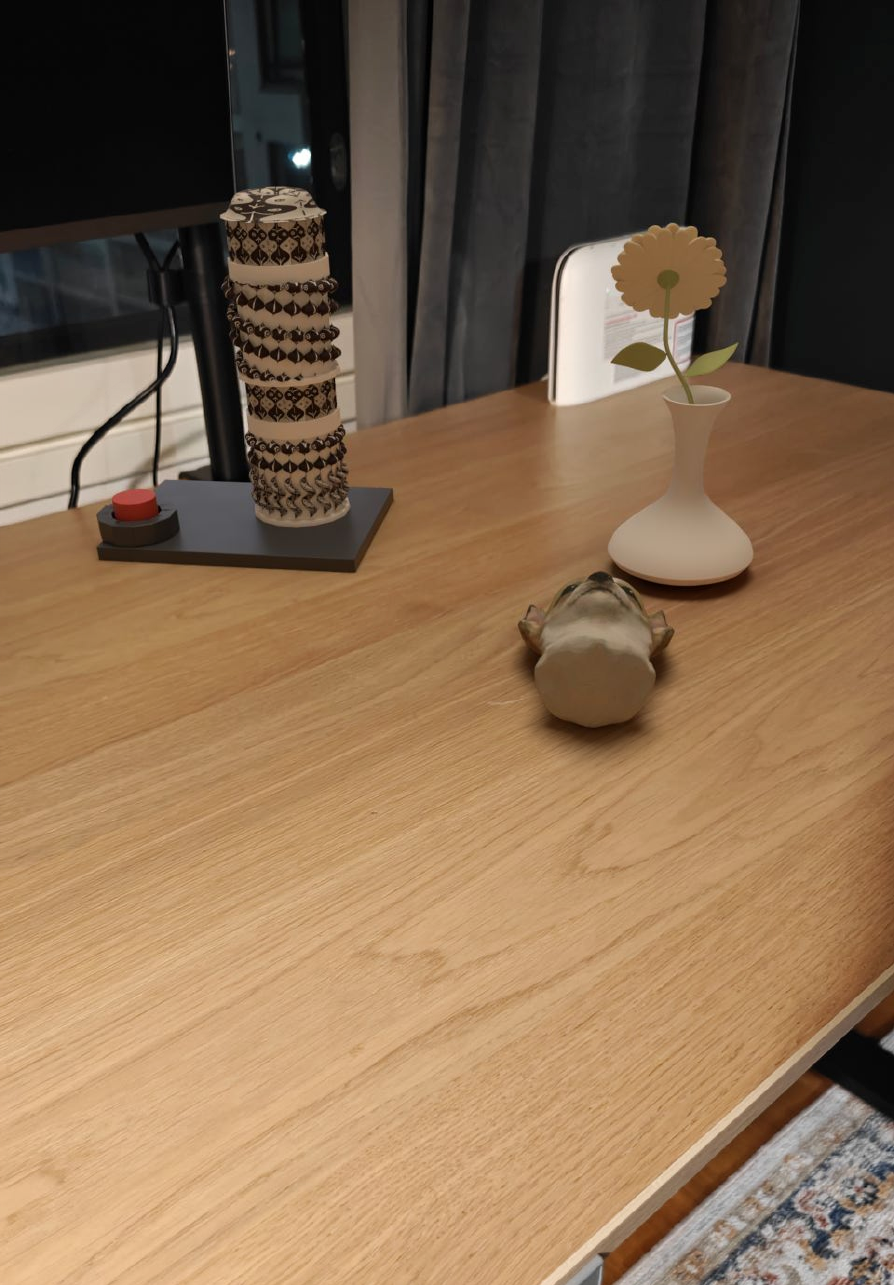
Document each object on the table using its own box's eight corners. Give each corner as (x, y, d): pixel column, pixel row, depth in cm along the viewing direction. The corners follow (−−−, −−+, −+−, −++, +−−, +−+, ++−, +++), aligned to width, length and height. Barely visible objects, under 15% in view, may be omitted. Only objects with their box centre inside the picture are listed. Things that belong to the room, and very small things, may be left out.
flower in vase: (769, 557, 92) (822, 218, 78) (721, 612, 85) (770, 246, 70) (622, 528, 98) (645, 206, 84) (564, 577, 90) (578, 231, 76)
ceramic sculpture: (507, 612, 66) (523, 527, 78) (503, 742, 70) (520, 642, 83) (694, 620, 64) (680, 533, 77) (677, 752, 69) (667, 649, 82)
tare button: (108, 523, 94) (104, 503, 93) (125, 507, 97) (121, 487, 96) (149, 525, 94) (146, 505, 93) (165, 509, 97) (161, 489, 96)
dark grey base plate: (90, 560, 95) (82, 526, 93) (159, 491, 108) (153, 460, 106) (355, 573, 92) (352, 538, 90) (393, 500, 104) (392, 468, 103)
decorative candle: (264, 536, 95) (224, 204, 81) (239, 499, 102) (198, 188, 88) (367, 519, 98) (347, 194, 83) (336, 484, 105) (313, 179, 90)
